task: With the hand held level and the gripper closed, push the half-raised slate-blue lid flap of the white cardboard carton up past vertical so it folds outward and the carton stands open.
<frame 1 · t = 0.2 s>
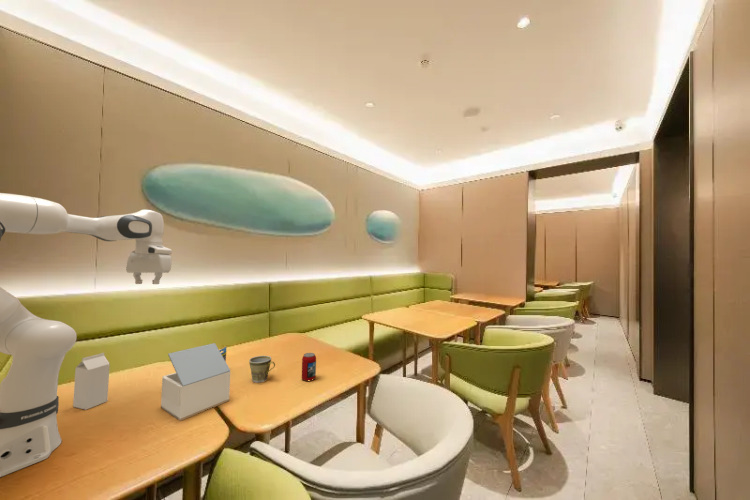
hand: (147, 284, 115), 47 cm above the table, tool pointing down, fingers open, 8 cm apart
ceramic cup: (262, 380, 137), on the table
beverage can: (308, 379, 140), on the table
label tape box: (217, 373, 145), on the table
milk carton: (90, 404, 112), on the table
carton lid flap: (200, 362, 113), point 17 cm above the table, hinge at 35.0°
carton: (195, 404, 113), on the table
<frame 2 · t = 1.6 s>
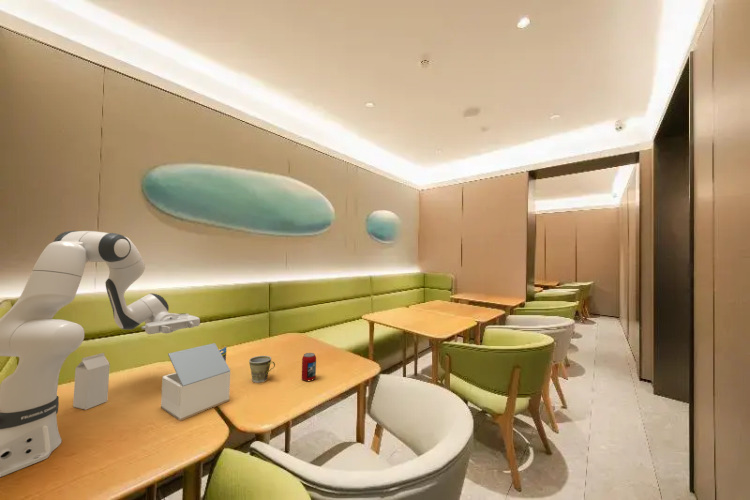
hand: (181, 327, 123), 28 cm above the table, tool horizontal, fingers open, 7 cm apart
nothing on the table moved.
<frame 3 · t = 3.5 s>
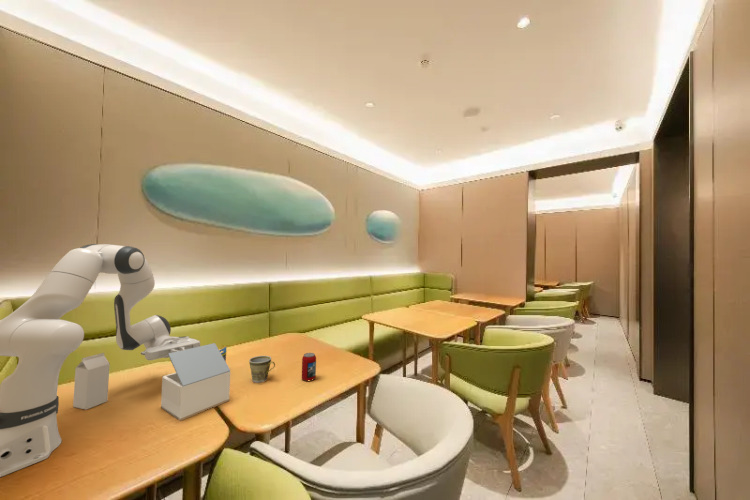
hand: (181, 352, 121), 18 cm above the table, tool horizontal, fingers closed
nothing on the table moved.
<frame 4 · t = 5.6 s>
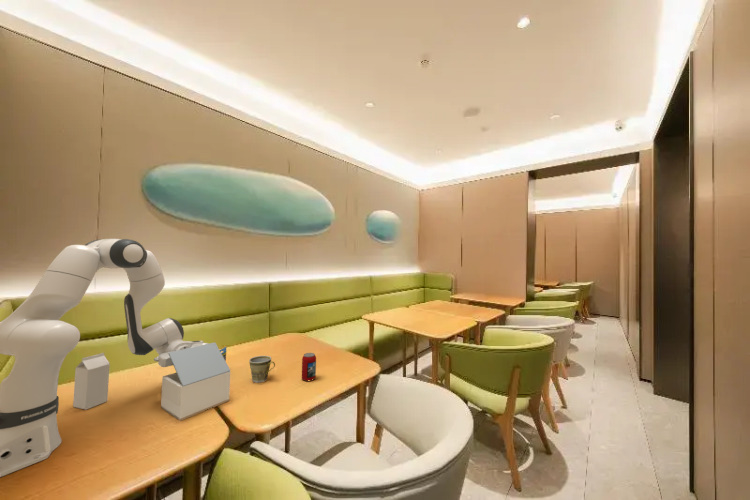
hand: (197, 358, 115), 18 cm above the table, tool horizontal, fingers closed, pressing on carton lid flap
carton lid flap: (200, 362, 113), point 17 cm above the table, hinge at 36.7°, touching gripper
everything else where it was.
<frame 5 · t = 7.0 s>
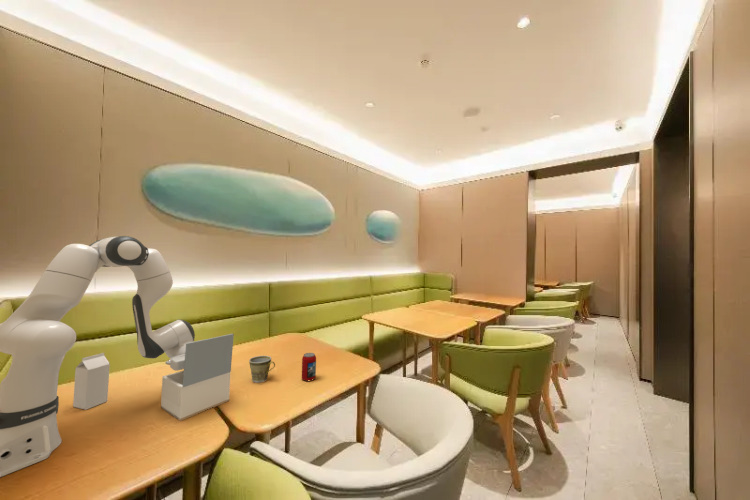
hand: (210, 361, 110), 19 cm above the table, tool horizontal, fingers closed, pressing on carton lid flap
carton lid flap: (209, 358, 110), point 20 cm above the table, hinge at 93.8°, touching gripper
everything else where it was.
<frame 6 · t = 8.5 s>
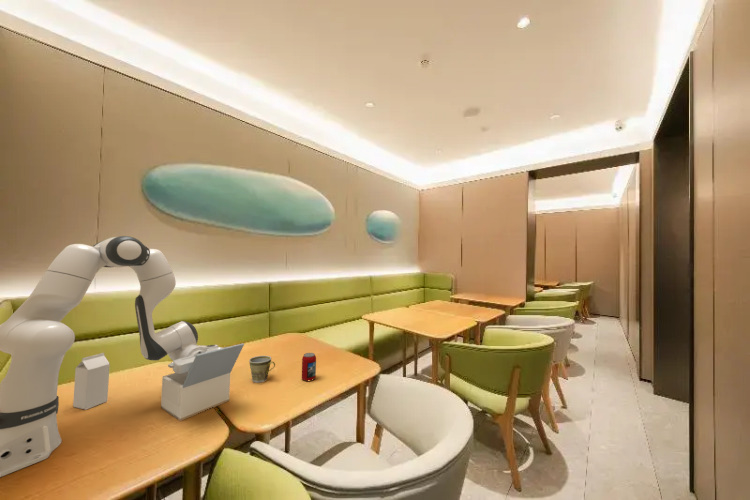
hand: (213, 364, 108), 18 cm above the table, tool horizontal, fingers closed
carton lid flap: (214, 364, 107), point 18 cm above the table, hinge at 123.6°
everything else where it was.
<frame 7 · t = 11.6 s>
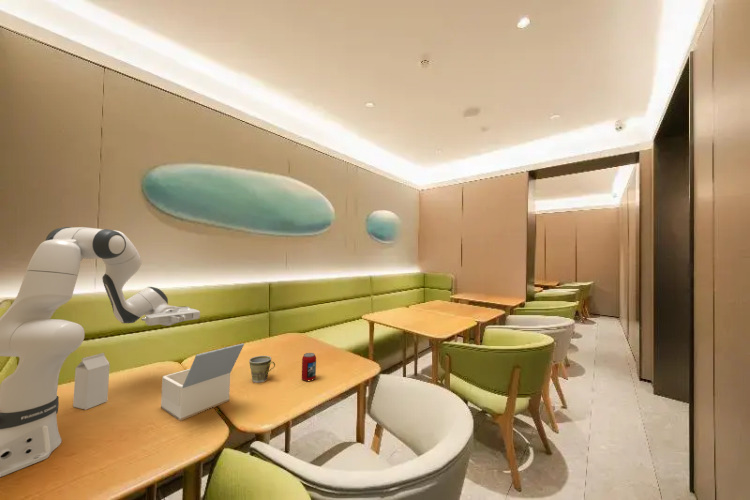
hand: (181, 319, 123), 32 cm above the table, tool horizontal, fingers closed
nothing on the table moved.
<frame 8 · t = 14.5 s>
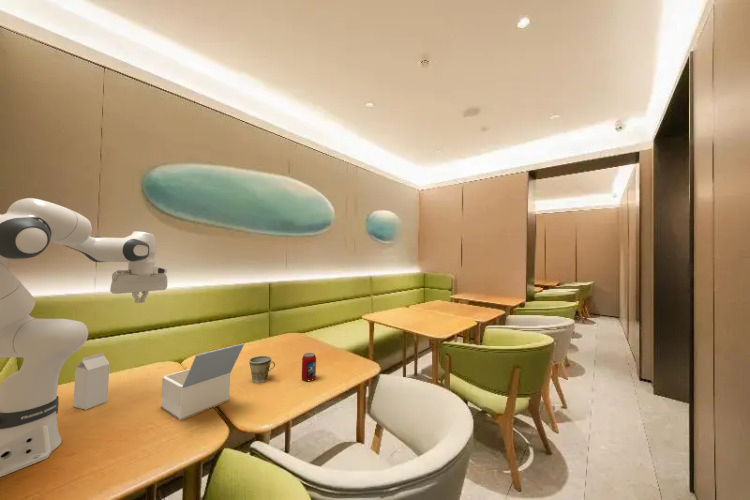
hand: (139, 302, 120), 39 cm above the table, tool pointing down, fingers closed
nothing on the table moved.
at the end: carton lid flap at +124° (first picture: +35°) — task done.
